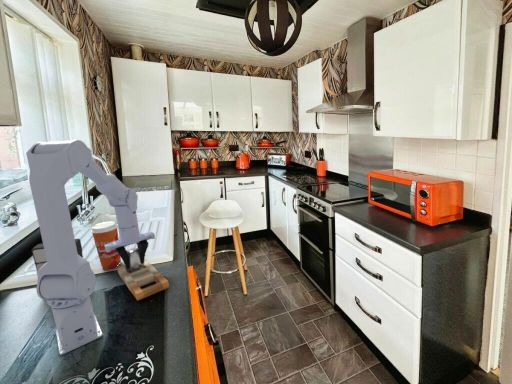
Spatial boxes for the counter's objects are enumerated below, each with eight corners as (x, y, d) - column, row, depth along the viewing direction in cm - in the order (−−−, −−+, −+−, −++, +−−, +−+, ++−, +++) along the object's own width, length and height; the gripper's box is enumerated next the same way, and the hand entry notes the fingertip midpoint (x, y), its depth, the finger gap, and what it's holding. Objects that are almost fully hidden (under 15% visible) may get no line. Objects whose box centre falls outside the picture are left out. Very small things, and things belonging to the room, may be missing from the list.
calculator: (42, 298, 77) (29, 250, 73) (49, 290, 81) (37, 244, 77) (85, 290, 79) (74, 243, 76) (89, 283, 84) (80, 238, 80)
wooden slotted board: (169, 287, 79) (168, 281, 78) (137, 300, 73) (136, 294, 73) (146, 264, 94) (145, 259, 93) (118, 274, 88) (117, 268, 88)
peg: (144, 273, 88) (140, 250, 86) (131, 277, 85) (127, 254, 83) (140, 269, 91) (137, 247, 89) (128, 273, 88) (124, 250, 86)
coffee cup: (94, 272, 90) (85, 230, 87) (103, 261, 98) (95, 222, 95) (120, 268, 91) (112, 227, 88) (127, 258, 99) (121, 219, 96)
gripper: (147, 217, 92) (152, 254, 95) (99, 228, 83) (107, 268, 86) (154, 221, 86) (160, 260, 89) (104, 234, 77) (112, 277, 80)
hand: (135, 265), depth 87 cm, fingers closed on peg, 4 cm apart
